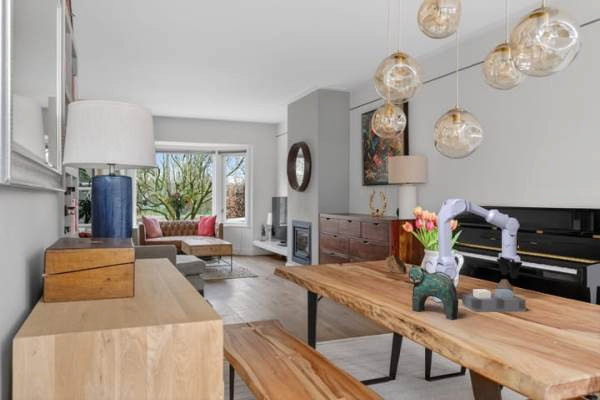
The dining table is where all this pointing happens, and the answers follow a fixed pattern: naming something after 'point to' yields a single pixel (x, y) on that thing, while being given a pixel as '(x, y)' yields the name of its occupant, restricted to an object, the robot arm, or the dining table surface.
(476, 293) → the white block
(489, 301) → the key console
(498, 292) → the slate key
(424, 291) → the ceramic cat
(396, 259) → the decorative rock
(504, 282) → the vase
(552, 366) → the dining table surface
